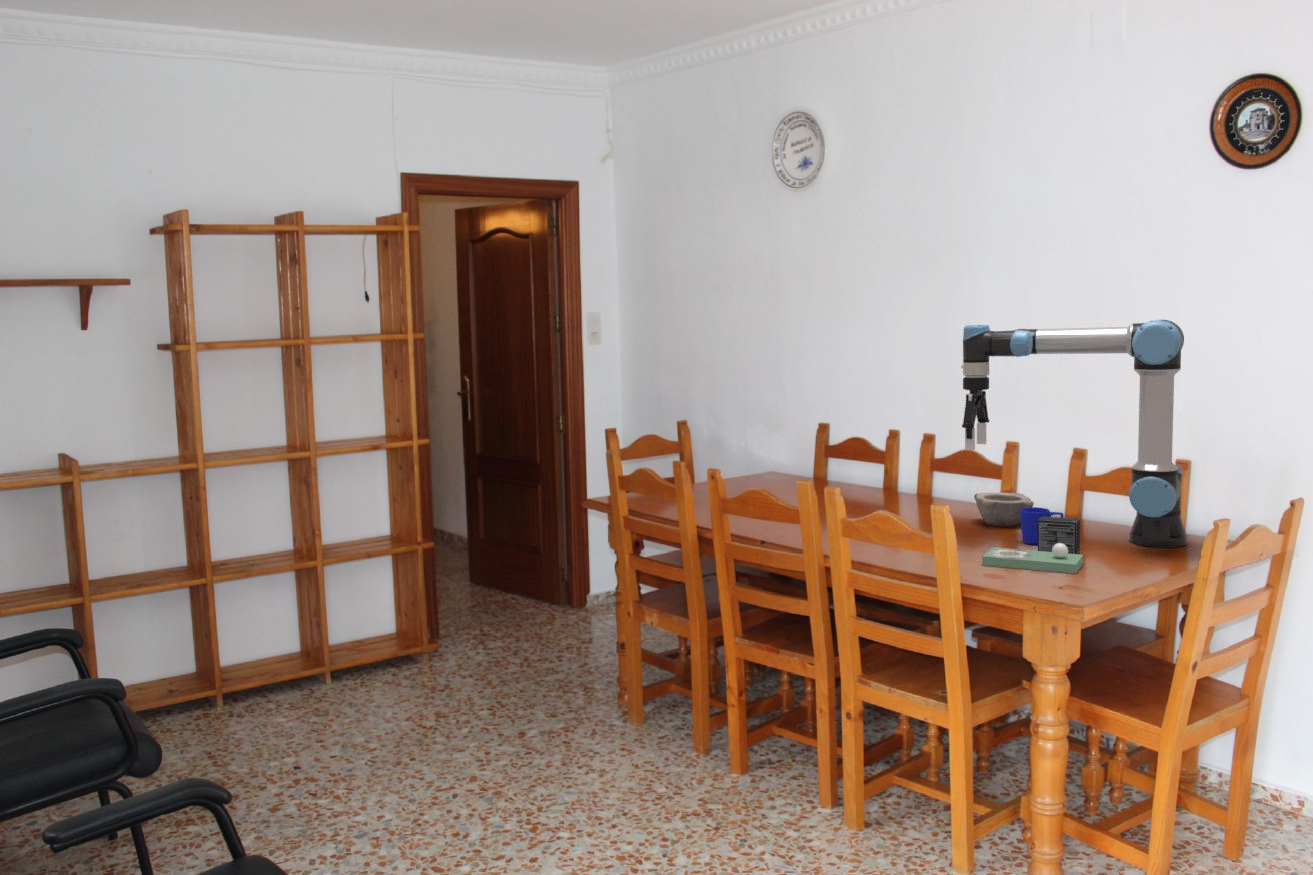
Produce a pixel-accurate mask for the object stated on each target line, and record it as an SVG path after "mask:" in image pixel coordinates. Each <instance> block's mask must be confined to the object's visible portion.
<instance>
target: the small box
mask: <svg viewBox="0 0 1313 875" xmlns="http://www.w3.org/2000/svg"><path fill="white" fill-rule="evenodd" d="M1057 543H1062V544H1064V545H1066V546H1067V548H1068V554H1080V555H1081V552H1080V551H1081V519H1080V518H1075V517H1074V518H1073V517H1072V518H1071V517H1063V518H1061V517H1055V516H1054V517H1053V516H1051V517H1041V518H1040V519H1038V545H1037V551H1044V552H1052V548H1053V546H1054V545H1055V544H1057Z"/></svg>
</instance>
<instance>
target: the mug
mask: <svg viewBox="0 0 1313 875" xmlns="http://www.w3.org/2000/svg"><path fill="white" fill-rule="evenodd" d="M1020 515H1021V522H1020V524H1021V526H1020V527H1021V538H1022V542H1023V543H1025V544H1027V545H1031V546H1032V545H1033V546H1034V545H1035V546H1036V545H1037V546H1038V519H1040V518H1041V517H1053V516H1054V515H1057V516H1060V518H1064V513H1063V512H1058V511H1051V510H1050V509H1049V508H1044V507H1034V506H1033V507H1028V508H1022V509H1020Z"/></svg>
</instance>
